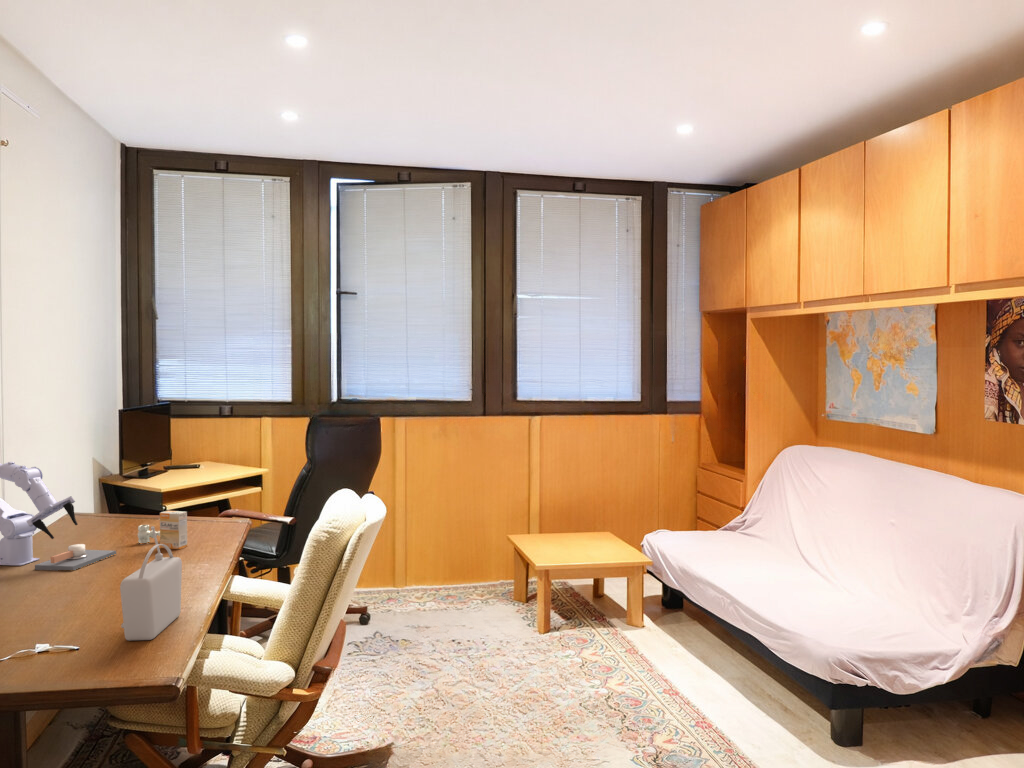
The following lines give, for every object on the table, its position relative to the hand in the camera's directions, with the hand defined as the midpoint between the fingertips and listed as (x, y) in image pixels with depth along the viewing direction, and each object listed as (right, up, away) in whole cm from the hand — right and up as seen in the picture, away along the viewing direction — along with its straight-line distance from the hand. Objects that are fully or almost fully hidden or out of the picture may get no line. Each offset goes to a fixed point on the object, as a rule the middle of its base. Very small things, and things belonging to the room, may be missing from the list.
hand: (64, 531), depth 242 cm
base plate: (+1, -11, +5) cm, 12 cm away
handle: (+1, -9, +1) cm, 9 cm away
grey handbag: (+58, -13, -59) cm, 83 cm away
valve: (+15, -11, +32) cm, 37 cm away
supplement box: (+26, -11, +23) cm, 36 cm away
